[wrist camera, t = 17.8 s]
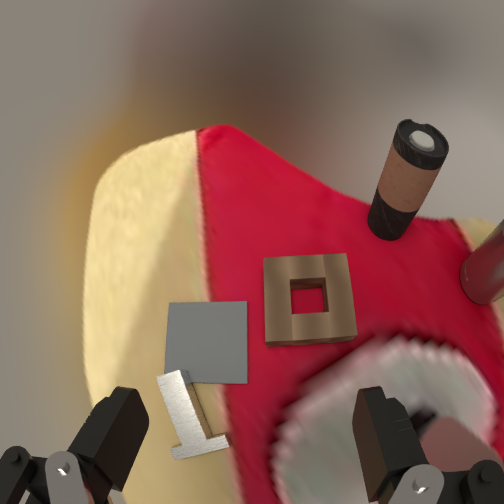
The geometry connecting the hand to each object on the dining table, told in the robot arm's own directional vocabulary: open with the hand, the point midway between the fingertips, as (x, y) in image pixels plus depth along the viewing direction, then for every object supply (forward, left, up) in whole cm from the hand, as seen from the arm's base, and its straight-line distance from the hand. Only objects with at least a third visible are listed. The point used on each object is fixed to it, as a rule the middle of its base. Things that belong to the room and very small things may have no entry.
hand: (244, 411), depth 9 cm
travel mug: (-10, -33, -31) cm, 46 cm away
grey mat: (+12, -5, -31) cm, 33 cm away
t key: (+14, +1, -28) cm, 31 cm away
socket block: (0, -15, -31) cm, 34 cm away
